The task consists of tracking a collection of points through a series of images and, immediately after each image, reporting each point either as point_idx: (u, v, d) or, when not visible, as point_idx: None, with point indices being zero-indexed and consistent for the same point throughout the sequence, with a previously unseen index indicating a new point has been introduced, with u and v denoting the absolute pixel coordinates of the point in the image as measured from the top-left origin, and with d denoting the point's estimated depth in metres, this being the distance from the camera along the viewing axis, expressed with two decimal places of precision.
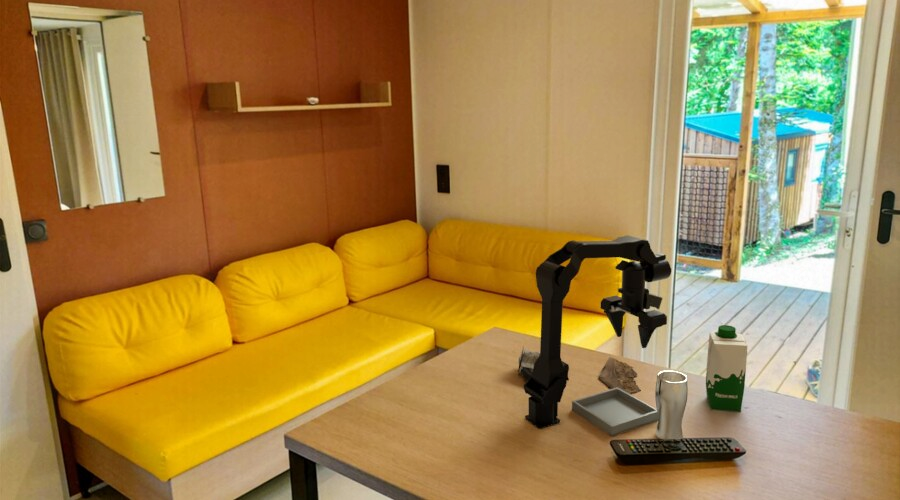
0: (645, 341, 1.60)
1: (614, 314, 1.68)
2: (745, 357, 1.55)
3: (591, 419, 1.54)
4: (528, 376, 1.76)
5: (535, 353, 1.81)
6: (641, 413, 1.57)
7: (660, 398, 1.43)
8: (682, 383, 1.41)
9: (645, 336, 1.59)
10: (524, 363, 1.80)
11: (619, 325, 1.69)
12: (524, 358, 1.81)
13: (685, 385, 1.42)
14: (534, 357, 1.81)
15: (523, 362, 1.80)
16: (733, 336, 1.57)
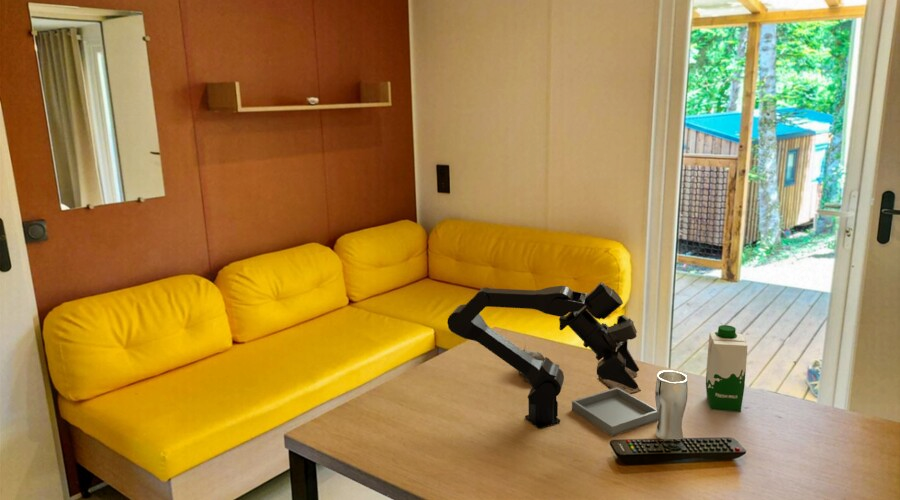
0: (628, 383, 1.42)
1: None
2: (745, 357, 1.55)
3: (591, 419, 1.54)
4: None
5: (536, 354, 1.81)
6: (641, 413, 1.57)
7: (660, 398, 1.43)
8: (682, 383, 1.41)
9: (621, 380, 1.42)
10: None
11: (628, 361, 1.51)
12: None
13: (685, 385, 1.42)
14: (535, 357, 1.80)
15: None
16: (733, 336, 1.57)
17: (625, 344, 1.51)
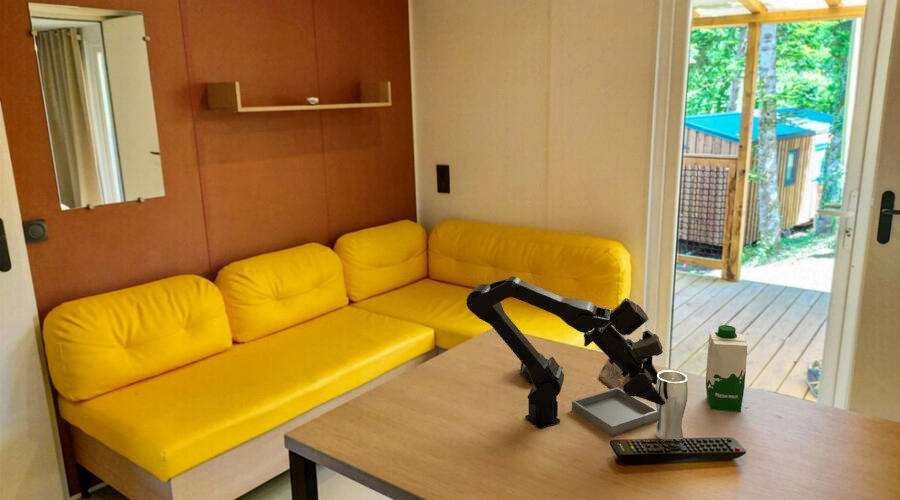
0: (655, 400, 1.41)
1: None
2: (745, 357, 1.55)
3: (591, 419, 1.54)
4: (529, 376, 1.76)
5: None
6: (641, 413, 1.57)
7: None
8: (682, 383, 1.41)
9: (648, 397, 1.41)
10: None
11: (653, 376, 1.50)
12: None
13: (685, 385, 1.42)
14: None
15: None
16: (733, 336, 1.57)
17: (650, 359, 1.50)
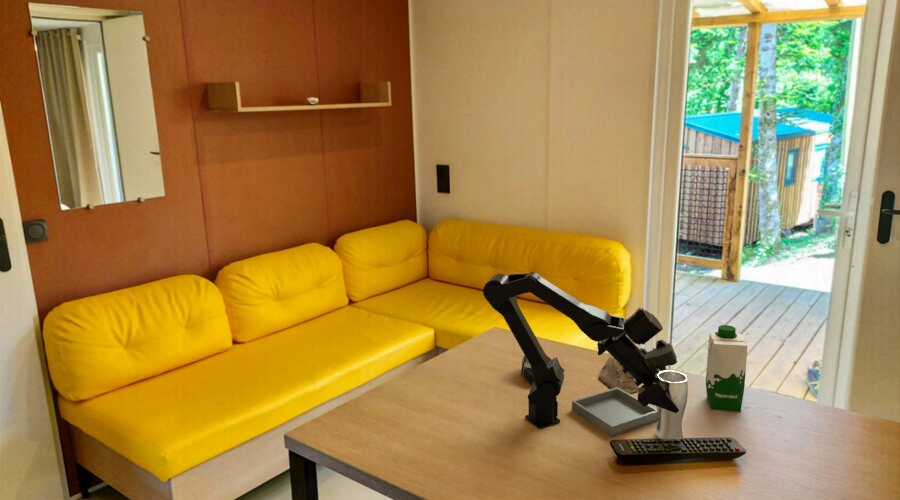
0: (669, 407, 1.42)
1: None
2: (745, 357, 1.55)
3: (591, 419, 1.54)
4: (530, 377, 1.76)
5: None
6: (641, 413, 1.57)
7: None
8: (682, 383, 1.41)
9: (662, 404, 1.42)
10: (527, 363, 1.79)
11: None
12: None
13: (685, 385, 1.42)
14: None
15: (526, 362, 1.80)
16: (733, 336, 1.57)
17: (664, 370, 1.48)
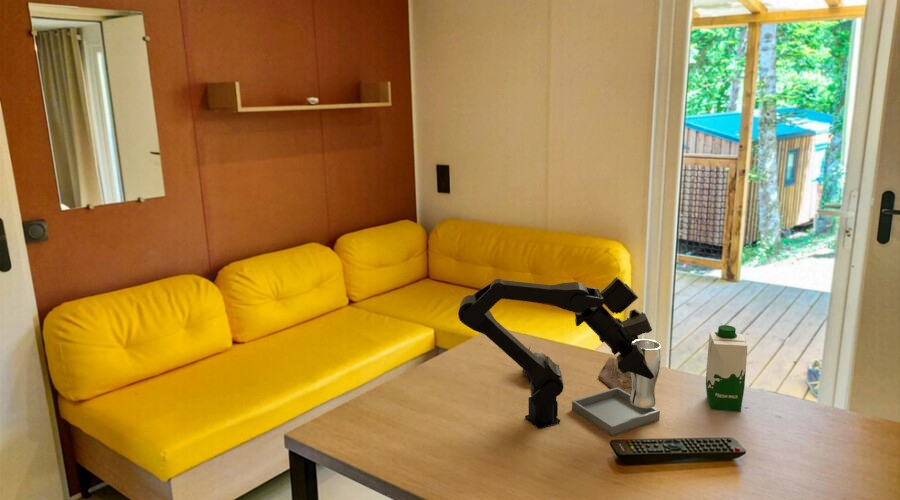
0: (645, 374, 1.46)
1: None
2: (745, 357, 1.55)
3: (591, 419, 1.54)
4: None
5: (540, 354, 1.81)
6: (641, 413, 1.57)
7: None
8: (657, 350, 1.46)
9: (639, 371, 1.46)
10: None
11: None
12: None
13: (659, 352, 1.47)
14: None
15: None
16: (733, 336, 1.57)
17: (636, 339, 1.53)
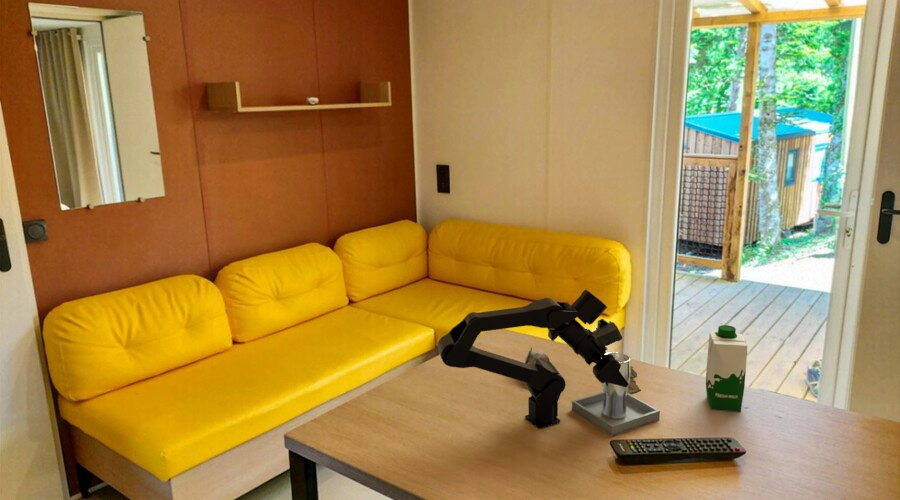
0: (621, 383, 1.50)
1: None
2: (745, 357, 1.55)
3: (591, 419, 1.54)
4: None
5: (542, 355, 1.80)
6: (641, 413, 1.57)
7: None
8: (628, 362, 1.52)
9: (615, 381, 1.49)
10: None
11: None
12: (530, 359, 1.80)
13: (629, 363, 1.53)
14: (540, 358, 1.79)
15: (529, 363, 1.79)
16: (733, 336, 1.57)
17: None
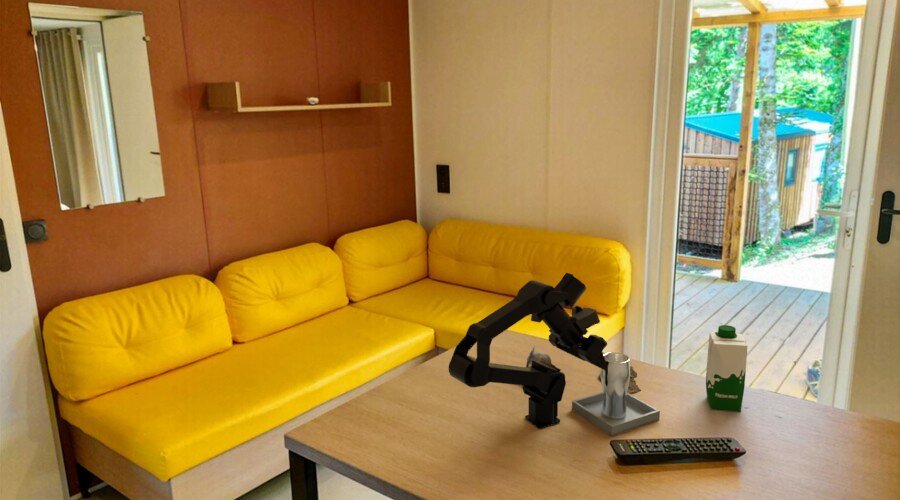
0: (602, 365, 1.51)
1: (566, 346, 1.60)
2: (745, 357, 1.55)
3: (591, 419, 1.54)
4: None
5: (544, 355, 1.80)
6: (641, 413, 1.57)
7: (609, 379, 1.53)
8: (627, 362, 1.52)
9: (597, 362, 1.50)
10: (531, 364, 1.79)
11: (578, 351, 1.61)
12: (532, 359, 1.80)
13: (629, 364, 1.53)
14: (542, 359, 1.79)
15: (530, 363, 1.79)
16: (733, 336, 1.57)
17: None
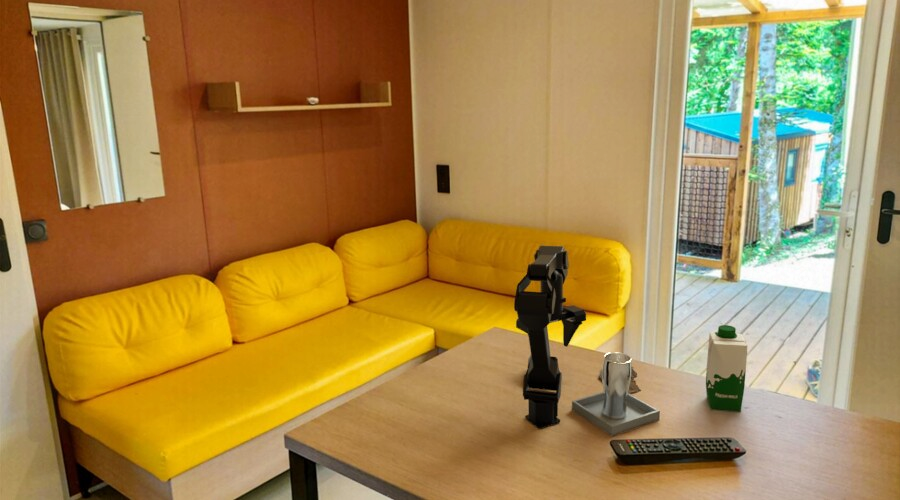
0: None
1: None
2: (745, 357, 1.55)
3: (591, 419, 1.54)
4: None
5: None
6: (641, 413, 1.57)
7: (610, 379, 1.52)
8: (629, 362, 1.52)
9: None
10: None
11: None
12: None
13: (630, 364, 1.53)
14: None
15: None
16: (733, 336, 1.57)
17: None
